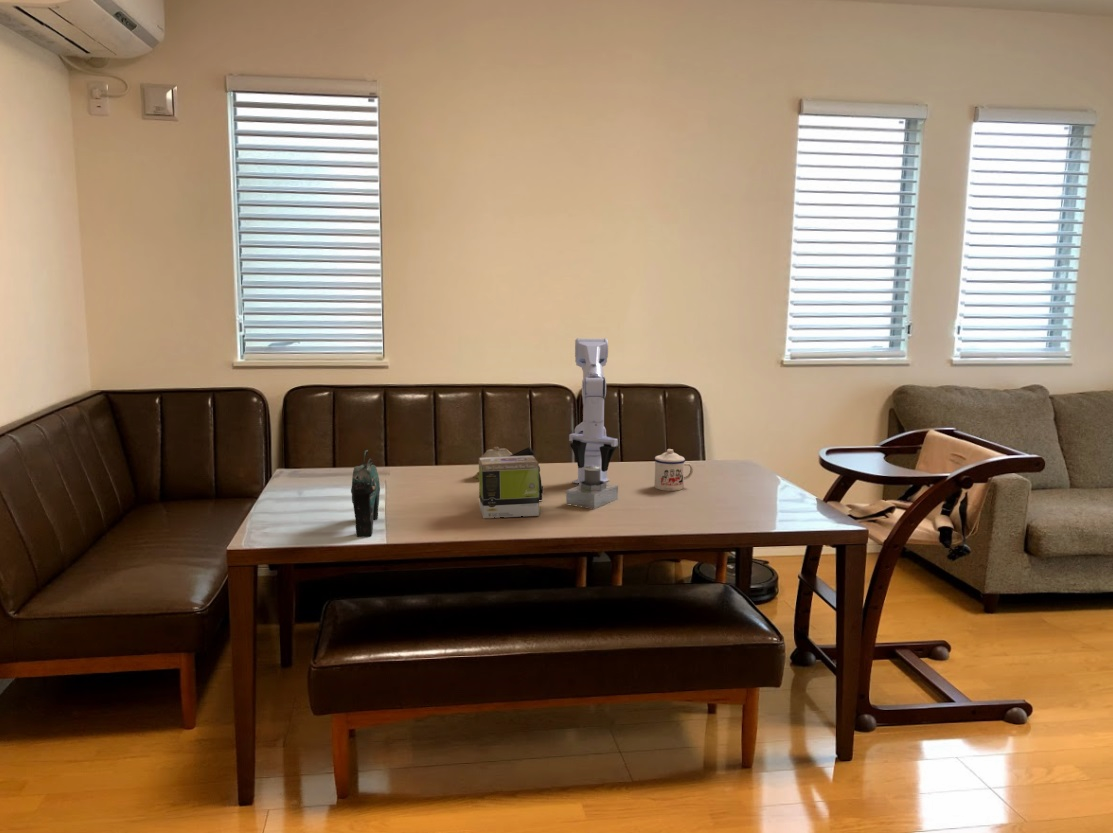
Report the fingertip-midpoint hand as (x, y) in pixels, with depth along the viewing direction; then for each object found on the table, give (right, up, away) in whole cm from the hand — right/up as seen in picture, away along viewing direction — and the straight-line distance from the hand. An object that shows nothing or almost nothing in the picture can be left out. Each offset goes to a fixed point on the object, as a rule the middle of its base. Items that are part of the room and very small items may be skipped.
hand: (592, 469), depth 243 cm
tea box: (-23, -11, -11) cm, 28 cm away
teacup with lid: (+25, -7, +19) cm, 32 cm away
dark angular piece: (-21, -9, +3) cm, 23 cm away
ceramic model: (-29, -5, +31) cm, 43 cm away
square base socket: (0, -9, +1) cm, 9 cm away
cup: (0, -5, +1) cm, 5 cm away
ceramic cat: (-57, -13, -25) cm, 64 cm away
